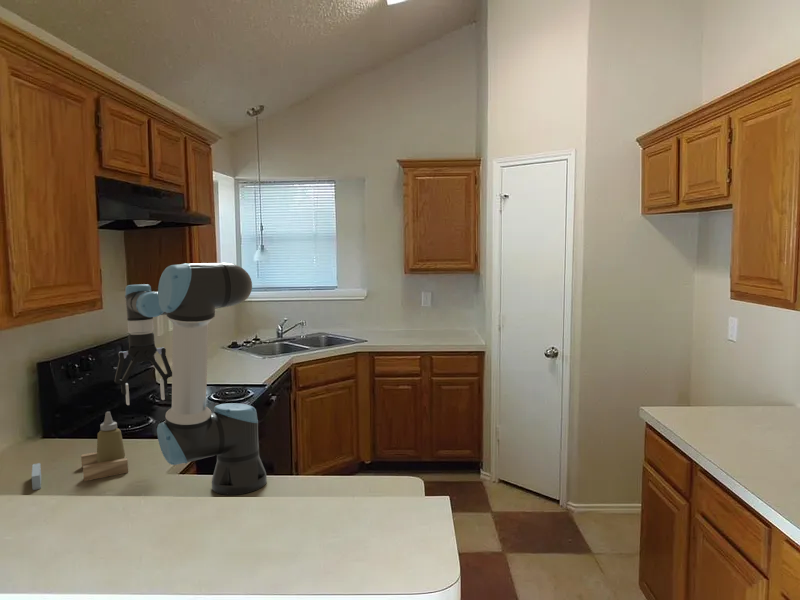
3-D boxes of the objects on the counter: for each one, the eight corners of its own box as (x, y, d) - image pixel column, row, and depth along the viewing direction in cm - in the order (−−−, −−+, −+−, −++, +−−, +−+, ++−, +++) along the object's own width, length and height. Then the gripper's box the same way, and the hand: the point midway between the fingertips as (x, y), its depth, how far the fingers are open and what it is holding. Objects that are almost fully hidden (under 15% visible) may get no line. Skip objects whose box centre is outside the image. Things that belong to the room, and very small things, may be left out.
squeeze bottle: (130, 463, 187) (126, 408, 186) (119, 472, 179) (115, 415, 178) (104, 464, 187) (100, 409, 186) (92, 473, 179) (88, 416, 178)
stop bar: (40, 488, 168) (39, 475, 168) (32, 490, 167) (31, 476, 167) (41, 475, 179) (40, 462, 178) (33, 477, 178) (32, 464, 177)
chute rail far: (124, 461, 190) (123, 449, 189) (82, 468, 183) (81, 456, 183) (123, 459, 191) (122, 447, 191) (81, 467, 185) (80, 454, 185)
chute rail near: (128, 472, 179) (127, 459, 179) (84, 481, 173) (83, 468, 173) (127, 470, 181) (126, 457, 181) (83, 479, 175) (82, 466, 175)
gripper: (175, 328, 195) (179, 394, 196) (101, 335, 183) (105, 404, 185) (180, 330, 188) (184, 398, 190) (102, 337, 177) (107, 409, 178)
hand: (145, 401), depth 187 cm, fingers open, 10 cm apart
